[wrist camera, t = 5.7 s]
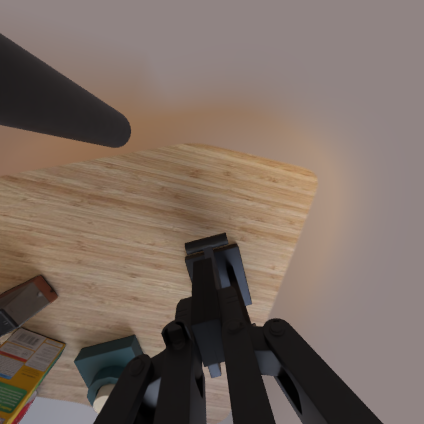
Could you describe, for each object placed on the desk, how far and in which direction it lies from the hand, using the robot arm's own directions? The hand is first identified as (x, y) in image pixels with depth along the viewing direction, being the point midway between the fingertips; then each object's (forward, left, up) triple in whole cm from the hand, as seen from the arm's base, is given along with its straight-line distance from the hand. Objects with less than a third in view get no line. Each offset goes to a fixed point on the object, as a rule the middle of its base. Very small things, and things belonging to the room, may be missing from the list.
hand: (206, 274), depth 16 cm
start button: (+21, -20, -10) cm, 30 cm away
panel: (+21, -20, -13) cm, 32 cm away
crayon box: (+12, -30, -13) cm, 35 cm away
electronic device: (+4, -29, -13) cm, 32 cm away
